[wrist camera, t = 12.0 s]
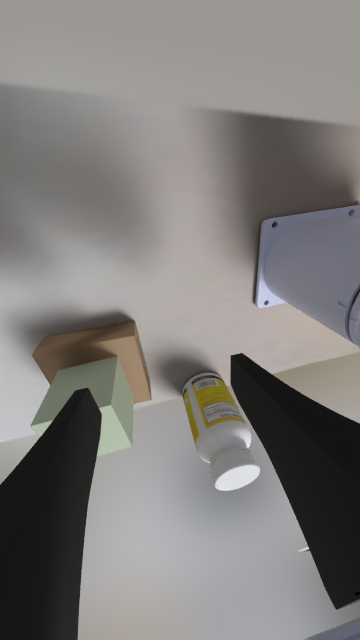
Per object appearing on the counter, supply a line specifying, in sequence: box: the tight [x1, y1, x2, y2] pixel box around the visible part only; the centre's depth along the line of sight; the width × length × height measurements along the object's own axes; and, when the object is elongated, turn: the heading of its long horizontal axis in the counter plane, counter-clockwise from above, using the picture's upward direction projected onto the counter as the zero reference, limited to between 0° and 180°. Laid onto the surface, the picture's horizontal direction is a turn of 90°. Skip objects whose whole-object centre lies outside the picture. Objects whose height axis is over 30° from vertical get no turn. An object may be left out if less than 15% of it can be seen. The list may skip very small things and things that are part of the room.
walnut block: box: [32, 321, 151, 404], centre depth 19 cm, size 8×8×3 cm
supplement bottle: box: [182, 373, 260, 491], centre depth 20 cm, size 5×5×10 cm
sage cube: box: [30, 356, 134, 456], centre depth 16 cm, size 5×5×5 cm
